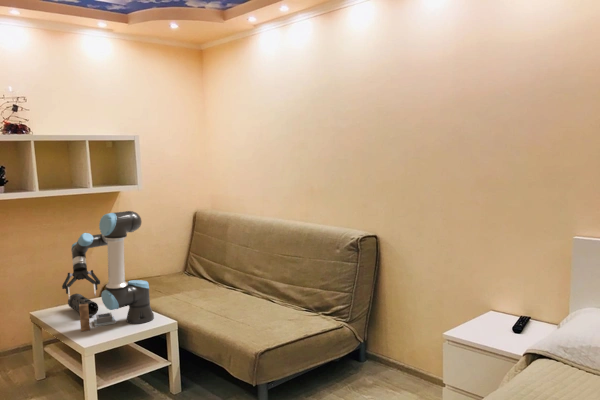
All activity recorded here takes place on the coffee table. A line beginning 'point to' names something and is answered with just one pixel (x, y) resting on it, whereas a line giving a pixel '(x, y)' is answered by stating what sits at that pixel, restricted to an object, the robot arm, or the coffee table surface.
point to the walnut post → (84, 317)
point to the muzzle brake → (79, 299)
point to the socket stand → (104, 319)
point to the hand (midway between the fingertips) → (82, 296)
